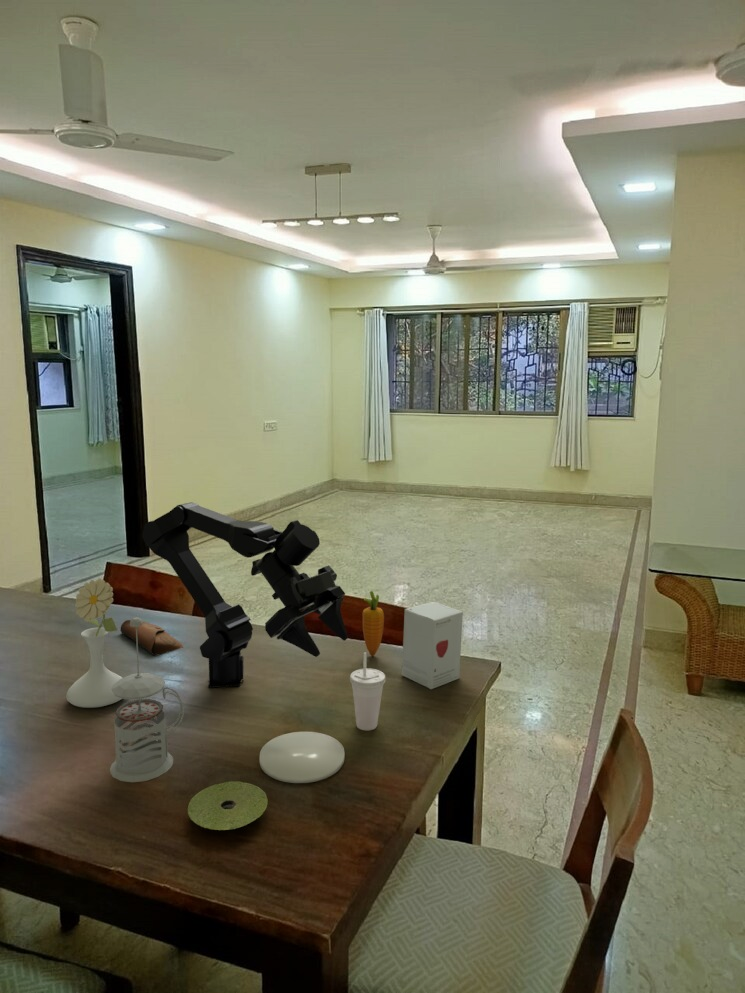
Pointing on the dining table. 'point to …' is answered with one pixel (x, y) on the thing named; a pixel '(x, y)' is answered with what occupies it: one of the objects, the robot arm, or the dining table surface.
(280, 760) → the plate
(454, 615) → the supplement box
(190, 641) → the dining table surface
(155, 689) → the french press
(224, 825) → the green disc
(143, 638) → the sunglasses case
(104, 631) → the flower in vase
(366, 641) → the carrot
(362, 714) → the smoothie
